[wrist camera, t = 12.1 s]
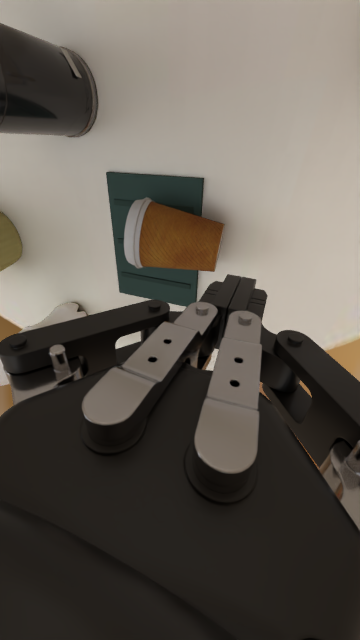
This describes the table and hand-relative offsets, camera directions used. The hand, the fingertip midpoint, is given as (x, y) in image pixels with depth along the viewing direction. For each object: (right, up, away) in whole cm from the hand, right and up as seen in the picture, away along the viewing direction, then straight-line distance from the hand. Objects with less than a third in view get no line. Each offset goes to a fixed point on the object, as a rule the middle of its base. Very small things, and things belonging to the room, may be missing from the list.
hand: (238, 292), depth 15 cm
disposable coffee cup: (+2, +8, +23) cm, 24 cm away
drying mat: (-7, +11, +30) cm, 32 cm away
